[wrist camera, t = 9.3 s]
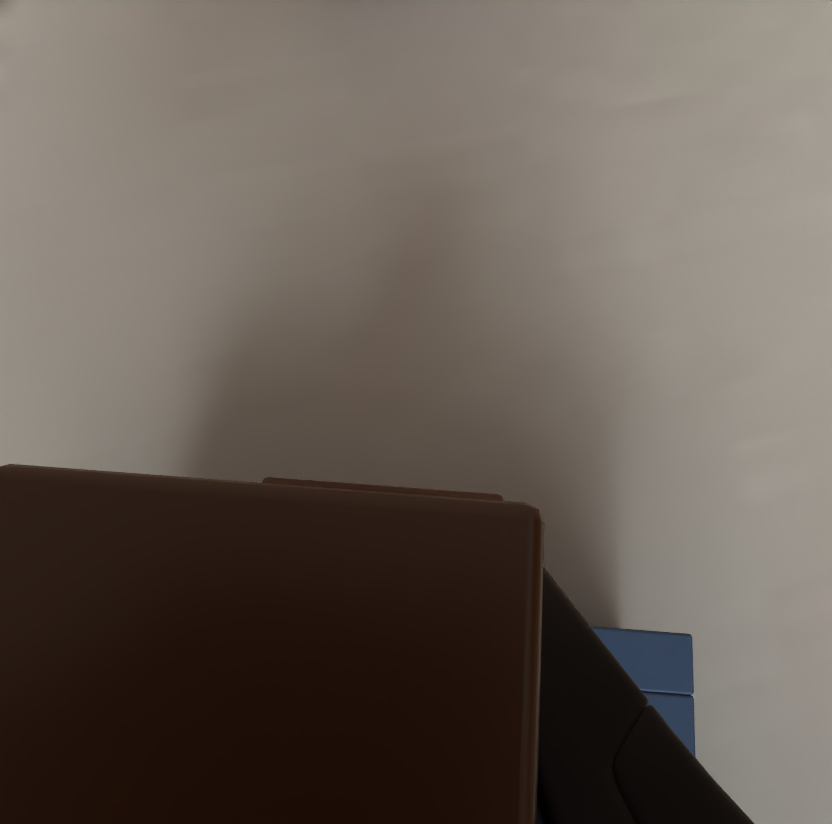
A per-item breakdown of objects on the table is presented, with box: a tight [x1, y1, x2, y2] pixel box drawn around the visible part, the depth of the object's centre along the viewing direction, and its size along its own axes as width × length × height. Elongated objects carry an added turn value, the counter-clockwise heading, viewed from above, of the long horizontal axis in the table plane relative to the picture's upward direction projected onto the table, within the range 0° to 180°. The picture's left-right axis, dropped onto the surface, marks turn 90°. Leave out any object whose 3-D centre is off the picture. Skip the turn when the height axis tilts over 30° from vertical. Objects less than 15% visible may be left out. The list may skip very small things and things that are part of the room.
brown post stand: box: [0, 464, 544, 824], centre depth 9 cm, size 5×4×13 cm
